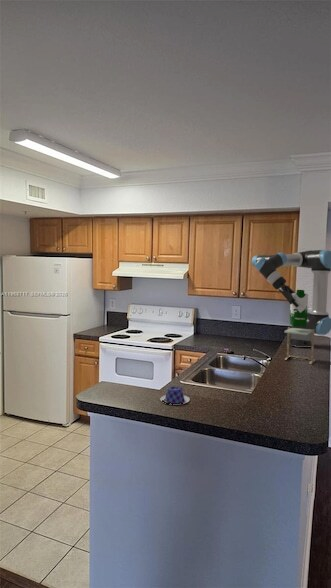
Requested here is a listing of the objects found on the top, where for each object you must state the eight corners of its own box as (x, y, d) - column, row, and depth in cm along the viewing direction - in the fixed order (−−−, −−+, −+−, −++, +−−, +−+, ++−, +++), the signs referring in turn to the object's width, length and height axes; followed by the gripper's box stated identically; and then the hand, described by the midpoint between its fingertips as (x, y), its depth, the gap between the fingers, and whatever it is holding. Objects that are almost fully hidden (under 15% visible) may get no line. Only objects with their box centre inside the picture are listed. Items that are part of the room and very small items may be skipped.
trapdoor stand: (289, 357, 225) (290, 325, 223) (315, 360, 217) (316, 328, 215) (284, 360, 216) (285, 328, 214) (311, 364, 208) (312, 330, 206)
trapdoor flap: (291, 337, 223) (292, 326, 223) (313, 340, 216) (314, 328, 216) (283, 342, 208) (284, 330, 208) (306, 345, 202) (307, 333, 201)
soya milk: (291, 326, 205) (293, 290, 203) (288, 324, 214) (289, 289, 212) (308, 327, 204) (309, 290, 202) (304, 324, 213) (305, 289, 211)
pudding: (160, 395, 158) (160, 383, 157) (188, 395, 158) (188, 383, 157) (159, 406, 146) (160, 393, 145) (190, 406, 146) (190, 393, 146)
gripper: (277, 284, 225) (304, 312, 217) (265, 285, 206) (294, 316, 199) (286, 275, 221) (314, 304, 214) (275, 276, 203) (305, 307, 196)
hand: (304, 310), depth 207 cm, fingers closed on soya milk, 9 cm apart
